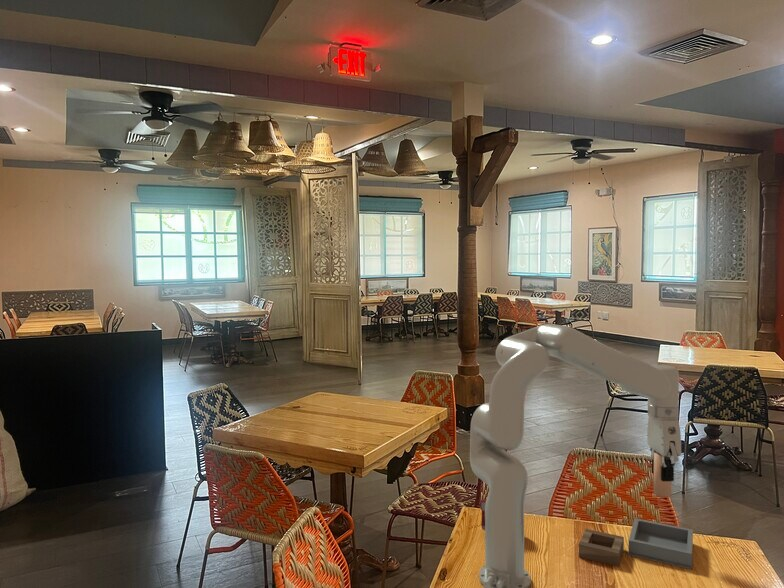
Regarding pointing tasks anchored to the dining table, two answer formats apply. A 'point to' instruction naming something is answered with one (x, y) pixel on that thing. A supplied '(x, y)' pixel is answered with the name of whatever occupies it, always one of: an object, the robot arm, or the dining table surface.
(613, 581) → the dining table surface
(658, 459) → the dowel
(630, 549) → the tray
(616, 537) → the collar block
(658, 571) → the dining table surface
